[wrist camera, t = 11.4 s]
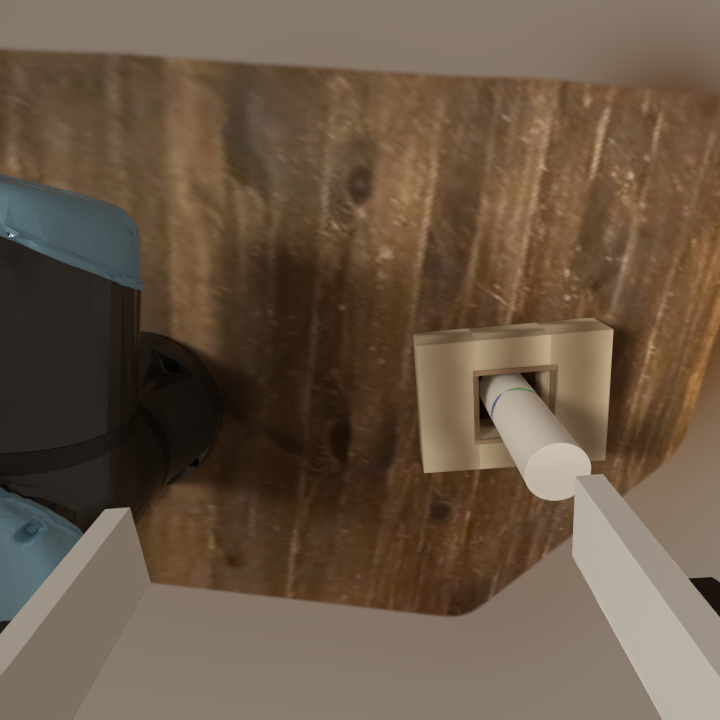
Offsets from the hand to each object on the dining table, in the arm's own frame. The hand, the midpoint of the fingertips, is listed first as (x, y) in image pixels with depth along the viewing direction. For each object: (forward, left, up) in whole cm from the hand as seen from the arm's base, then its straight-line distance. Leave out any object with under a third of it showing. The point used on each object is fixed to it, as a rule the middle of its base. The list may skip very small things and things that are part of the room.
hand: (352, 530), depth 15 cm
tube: (+12, -9, -32) cm, 35 cm away
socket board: (+12, -9, -32) cm, 35 cm away
